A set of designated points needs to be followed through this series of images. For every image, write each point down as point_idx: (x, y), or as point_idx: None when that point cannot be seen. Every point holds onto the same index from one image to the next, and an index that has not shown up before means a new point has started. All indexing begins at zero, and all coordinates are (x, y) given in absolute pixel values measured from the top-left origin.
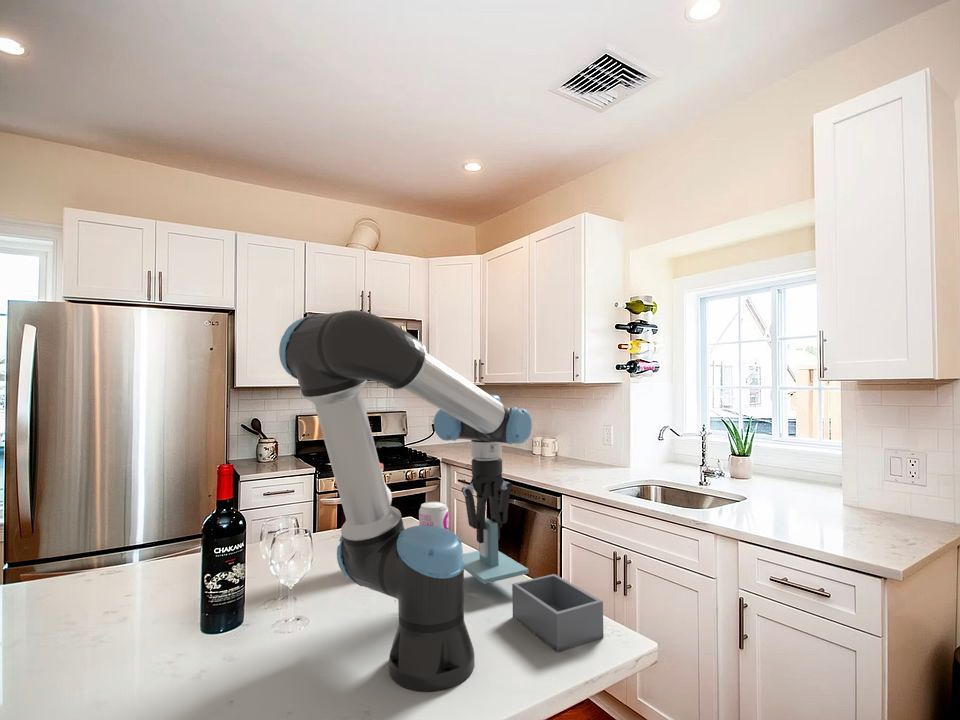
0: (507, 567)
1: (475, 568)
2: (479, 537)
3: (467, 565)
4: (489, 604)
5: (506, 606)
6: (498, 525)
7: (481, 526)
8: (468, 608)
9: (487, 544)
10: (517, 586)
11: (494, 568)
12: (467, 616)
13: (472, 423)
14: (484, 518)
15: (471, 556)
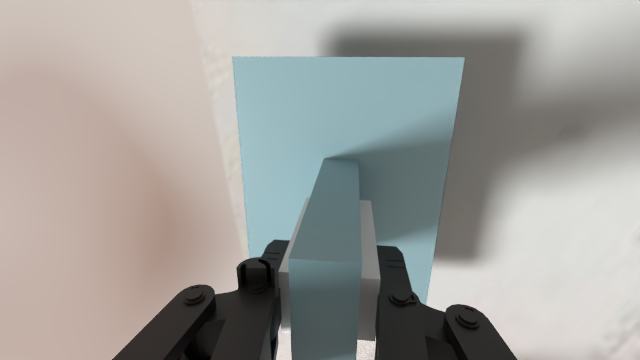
0: (302, 121)
1: (419, 183)
2: (404, 266)
3: (428, 224)
4: (421, 52)
5: (381, 6)
6: (265, 276)
7: (408, 306)
8: (498, 61)
9: None
10: None
11: (354, 141)
12: (541, 4)
13: None
14: (384, 356)
15: None
